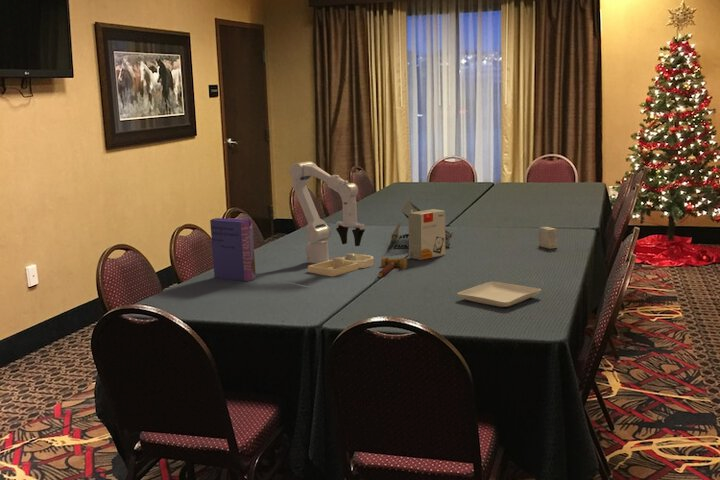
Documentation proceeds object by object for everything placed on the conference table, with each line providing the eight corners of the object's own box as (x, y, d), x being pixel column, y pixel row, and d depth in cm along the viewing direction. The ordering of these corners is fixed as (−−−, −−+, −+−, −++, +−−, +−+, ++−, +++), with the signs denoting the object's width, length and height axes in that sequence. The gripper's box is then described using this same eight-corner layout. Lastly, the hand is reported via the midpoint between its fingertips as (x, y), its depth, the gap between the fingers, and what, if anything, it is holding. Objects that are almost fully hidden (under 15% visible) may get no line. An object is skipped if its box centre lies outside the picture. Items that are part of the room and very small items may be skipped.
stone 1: (330, 269, 322) (330, 258, 321) (338, 267, 325) (338, 256, 324) (338, 270, 319) (338, 260, 318) (346, 268, 322) (345, 258, 321)
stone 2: (343, 265, 329) (343, 254, 328) (351, 263, 332) (350, 252, 331) (351, 266, 326) (351, 255, 325) (358, 264, 329) (358, 254, 328)
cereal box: (255, 279, 313) (252, 219, 309) (248, 281, 309) (244, 221, 305) (222, 275, 322) (217, 217, 318) (214, 277, 318) (210, 219, 314)
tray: (308, 273, 319) (307, 265, 319) (334, 266, 330) (334, 259, 330) (332, 277, 310) (331, 270, 309) (358, 270, 321) (358, 263, 320)
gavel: (391, 271, 304) (366, 270, 308) (391, 282, 305) (367, 281, 309) (407, 256, 323) (384, 255, 327) (407, 267, 324) (384, 266, 328)
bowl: (335, 267, 329) (335, 258, 328) (357, 261, 338) (357, 253, 337) (358, 271, 320) (358, 262, 319) (379, 265, 329) (379, 257, 328)
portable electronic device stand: (450, 249, 357) (449, 210, 354) (389, 250, 362) (387, 211, 358) (452, 236, 389) (452, 199, 386) (396, 236, 394) (395, 200, 390)
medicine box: (557, 248, 349) (557, 229, 347) (548, 249, 347) (549, 230, 346) (546, 245, 356) (547, 226, 355) (538, 246, 355) (538, 227, 353)
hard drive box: (420, 260, 335) (419, 214, 331) (408, 258, 340) (407, 212, 337) (446, 254, 344) (445, 209, 341) (433, 252, 350) (432, 208, 346)
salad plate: (455, 301, 270) (455, 292, 269) (492, 289, 285) (492, 280, 284) (506, 312, 255) (506, 302, 254) (542, 298, 270) (542, 288, 269)
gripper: (330, 212, 327) (332, 244, 330) (355, 215, 317) (356, 248, 320) (342, 210, 332) (343, 241, 335) (367, 213, 322) (368, 245, 325)
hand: (351, 244), depth 328 cm, fingers open, 7 cm apart
